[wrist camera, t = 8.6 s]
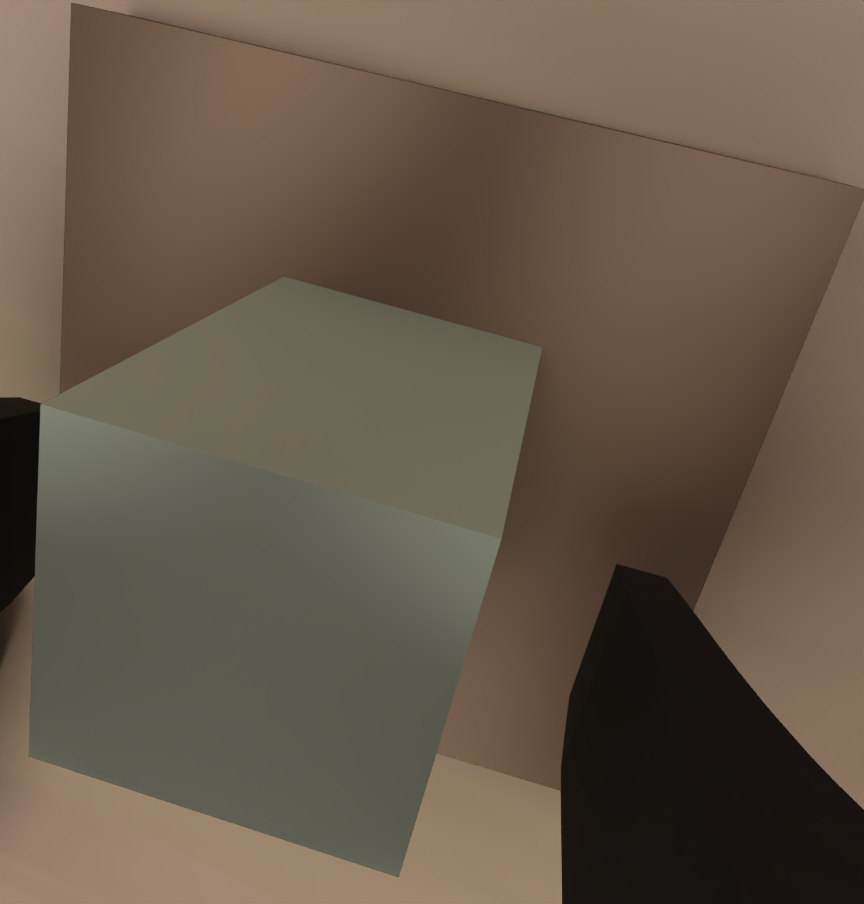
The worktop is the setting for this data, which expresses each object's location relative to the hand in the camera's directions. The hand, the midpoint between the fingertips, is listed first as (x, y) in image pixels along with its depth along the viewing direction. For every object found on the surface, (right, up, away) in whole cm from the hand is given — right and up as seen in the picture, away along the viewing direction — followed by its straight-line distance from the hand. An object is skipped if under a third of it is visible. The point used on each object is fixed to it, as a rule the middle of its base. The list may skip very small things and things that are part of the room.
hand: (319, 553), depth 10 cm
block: (+1, +2, +3) cm, 3 cm away
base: (+1, +2, +4) cm, 5 cm away
